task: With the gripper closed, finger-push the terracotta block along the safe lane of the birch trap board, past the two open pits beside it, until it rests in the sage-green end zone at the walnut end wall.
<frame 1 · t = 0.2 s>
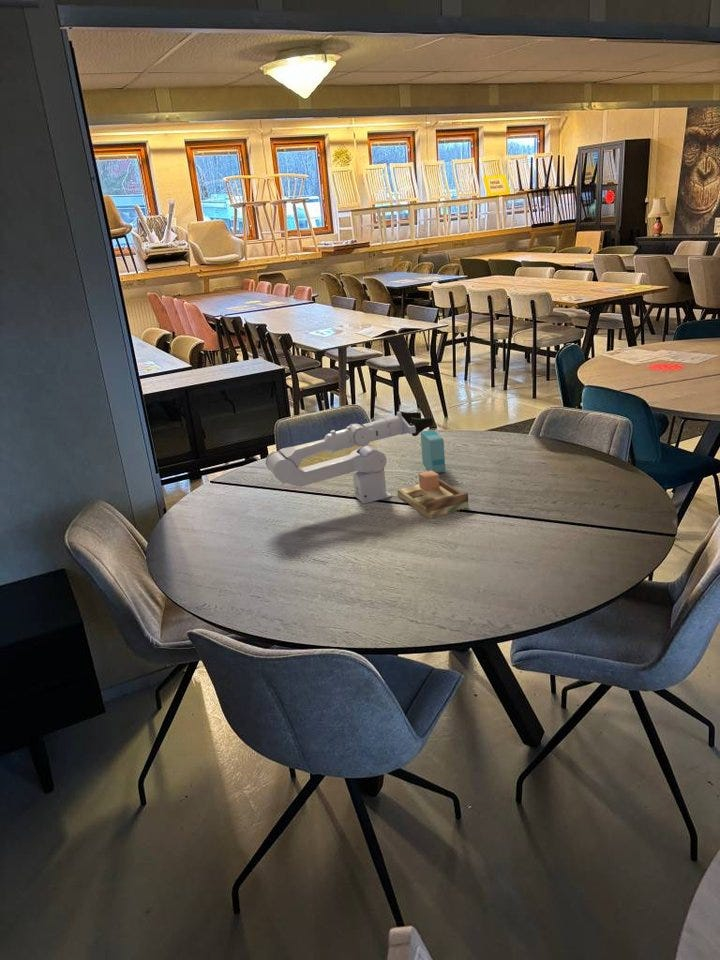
hand: (426, 418, 207), 21 cm above the table, tool horizontal, fingers open, 7 cm apart
trap board: (432, 501, 200), on the table
block: (429, 487, 205), point 2 cm above the table, touching trap board
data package: (433, 469, 226), on the table
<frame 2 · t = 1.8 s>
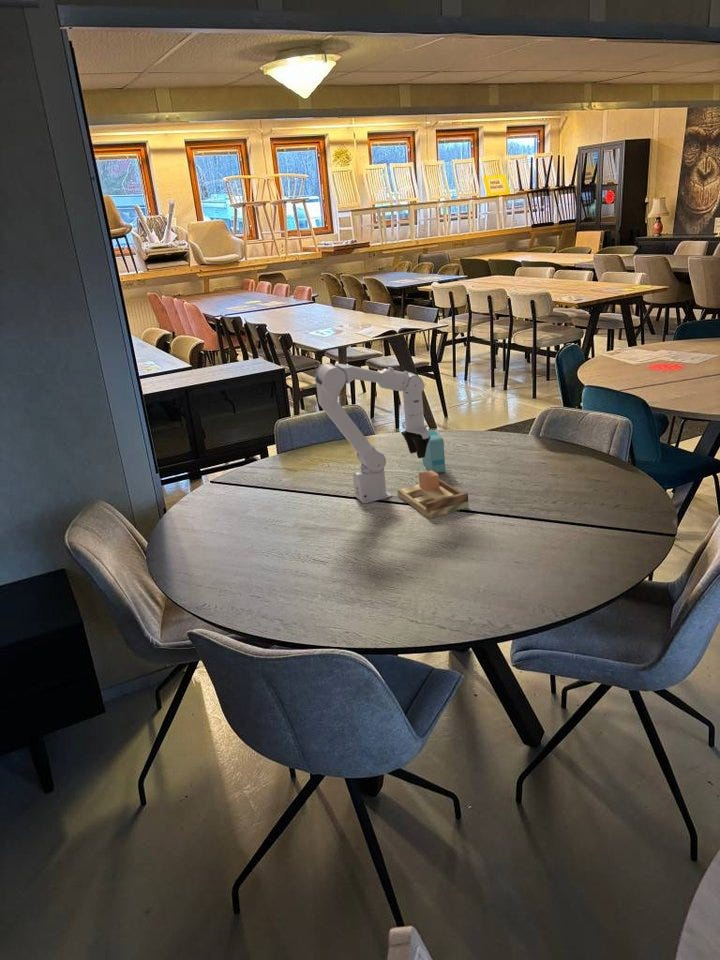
hand: (417, 455, 208), 10 cm above the table, tool pointing down, fingers open, 5 cm apart
nothing on the table moved.
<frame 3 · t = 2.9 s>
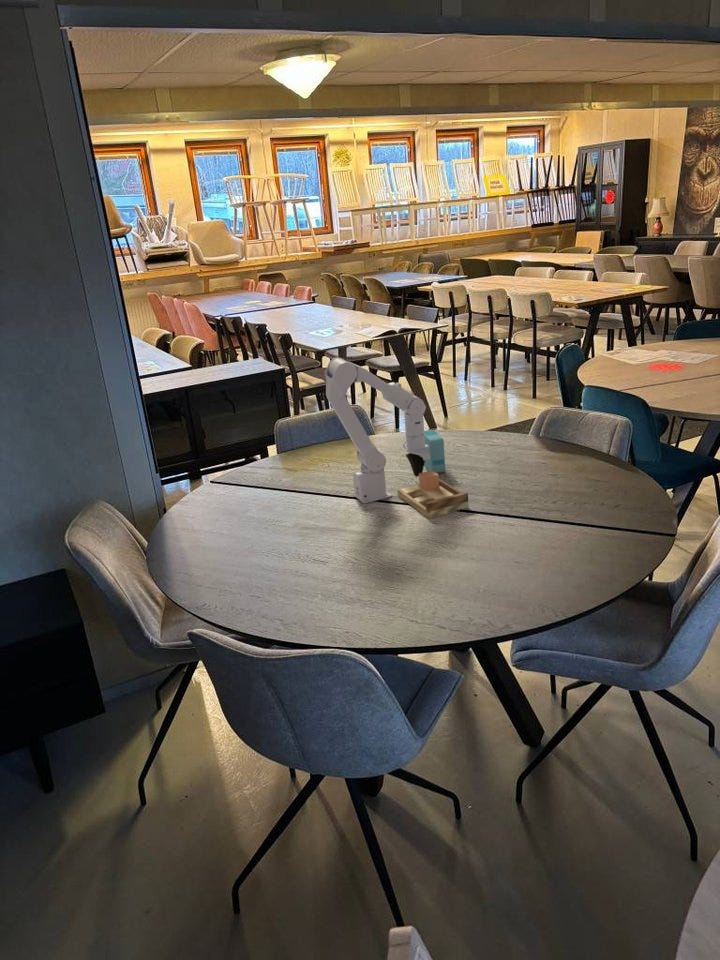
hand: (418, 475, 211), 4 cm above the table, tool pointing down, fingers closed
nothing on the table moved.
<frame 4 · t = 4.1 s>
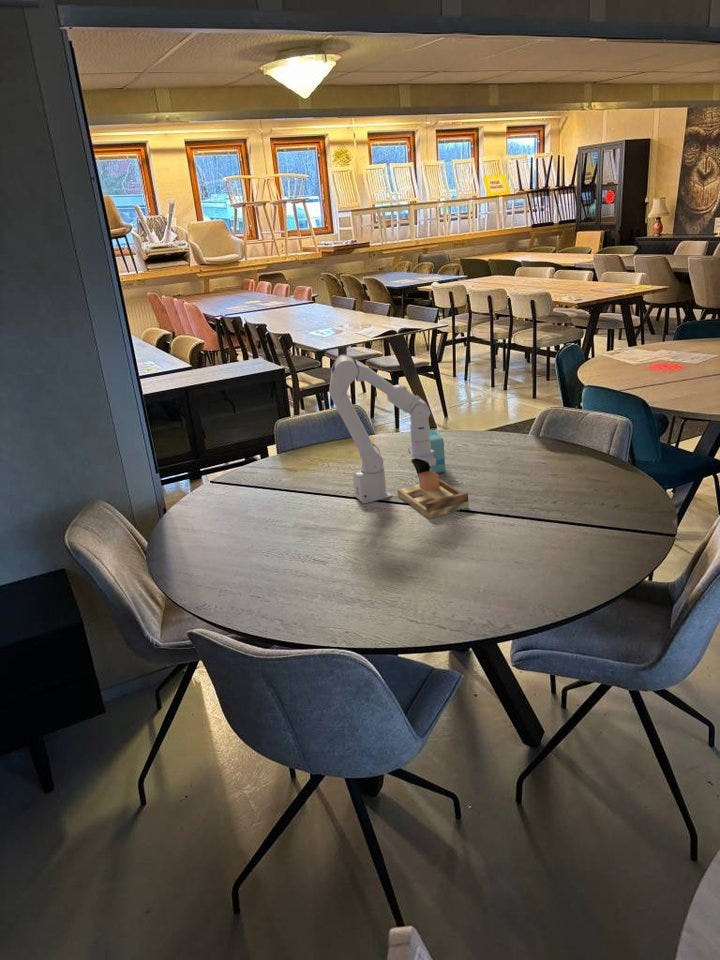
hand: (423, 480, 208), 3 cm above the table, tool pointing down, fingers closed
block: (429, 487, 205), point 2 cm above the table, touching gripper, trap board
everything else where it was.
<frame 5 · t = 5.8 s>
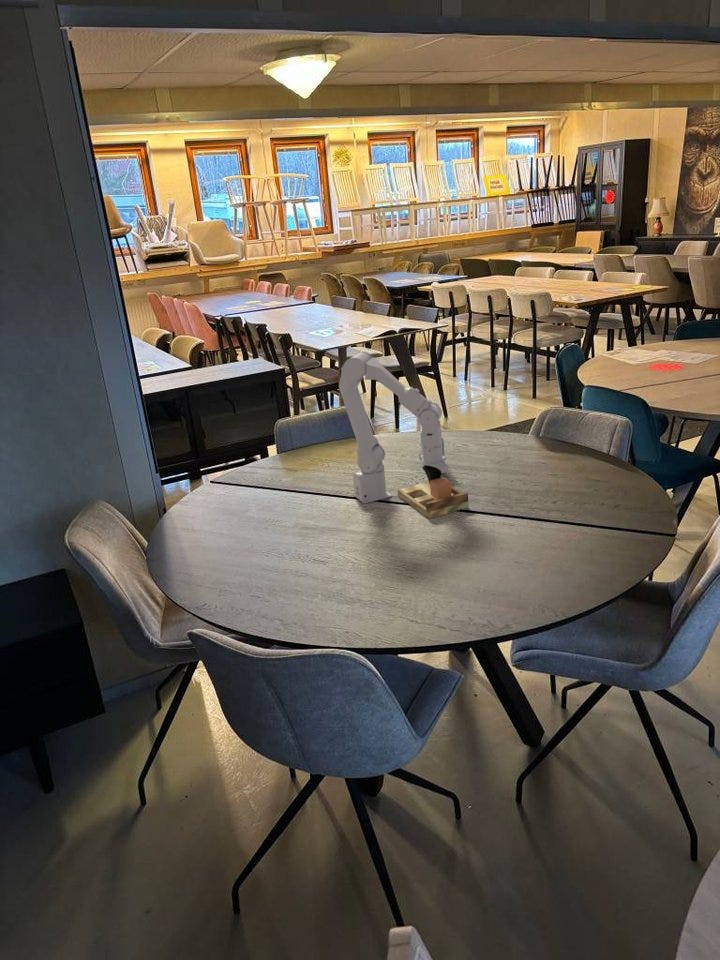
hand: (434, 488, 202), 3 cm above the table, tool pointing down, fingers closed
block: (441, 495, 199), point 2 cm above the table, touching gripper, trap board
everything else where it was.
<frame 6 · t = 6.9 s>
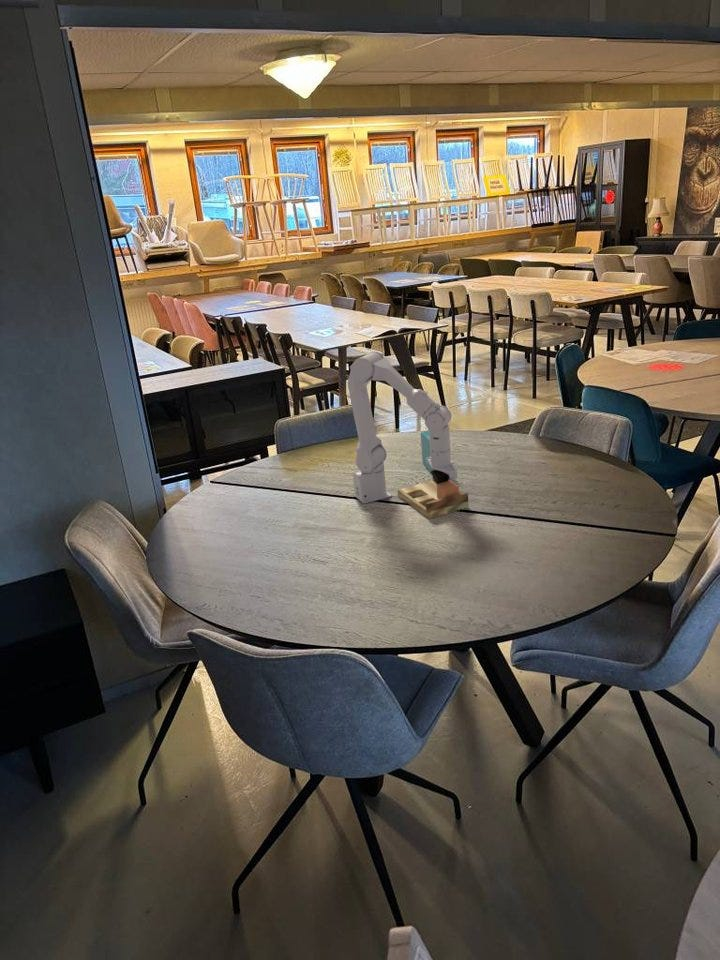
hand: (442, 493, 197), 3 cm above the table, tool pointing down, fingers closed, pressing on block
block: (447, 498, 195), point 2 cm above the table, tilted 5°, touching gripper, trap board
everything else where it was.
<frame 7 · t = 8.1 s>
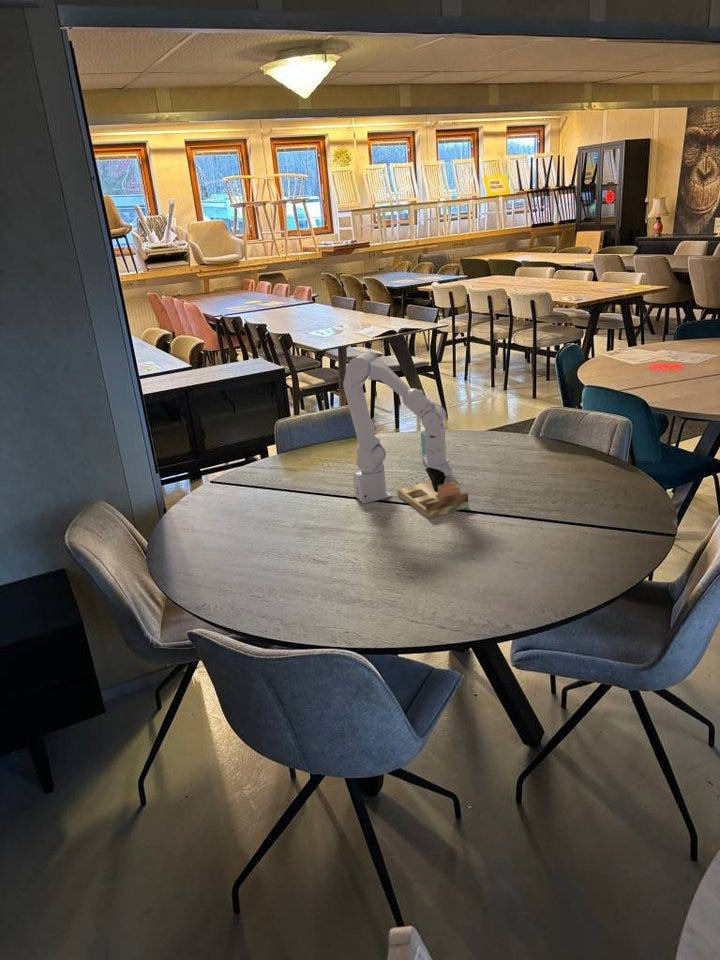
hand: (438, 490, 200), 3 cm above the table, tool pointing down, fingers closed
block: (449, 500, 195), point 2 cm above the table, touching trap board
everything else where it was.
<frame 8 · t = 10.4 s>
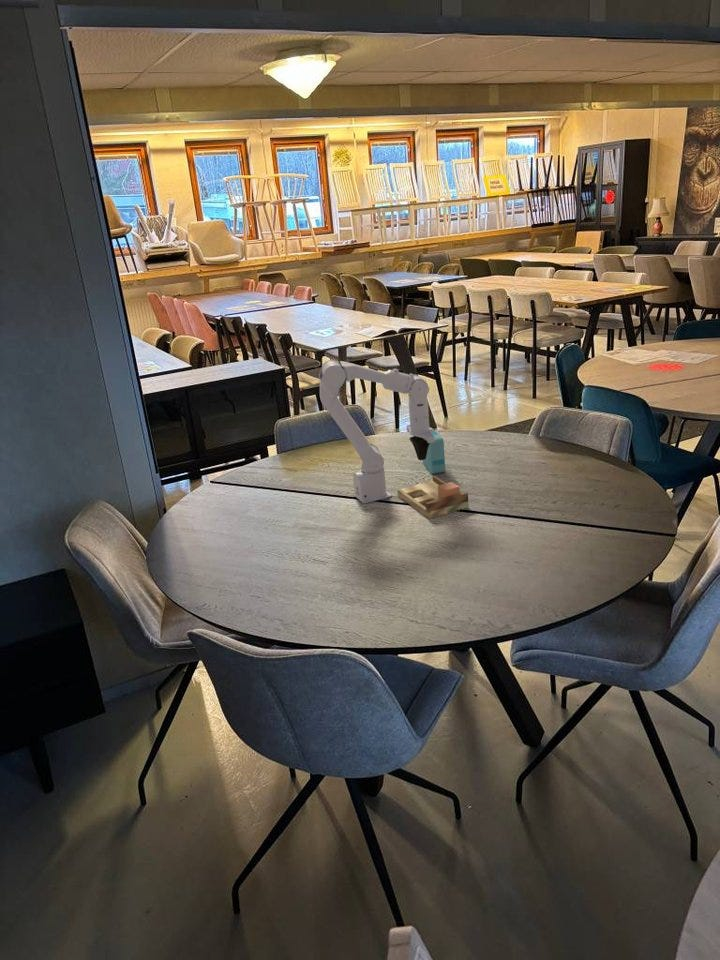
hand: (421, 459, 206), 10 cm above the table, tool pointing down, fingers closed
nothing on the table moved.
at the end: block 0.7 cm from the target spot on the trap board, point 2.0 cm above the trap board's base; block tilted 0° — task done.
